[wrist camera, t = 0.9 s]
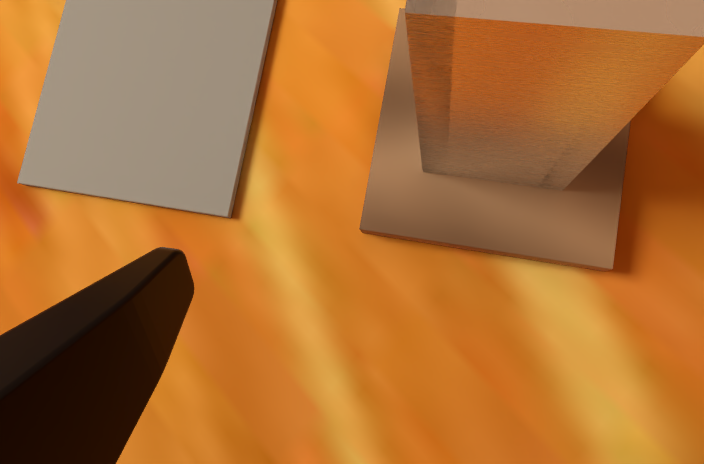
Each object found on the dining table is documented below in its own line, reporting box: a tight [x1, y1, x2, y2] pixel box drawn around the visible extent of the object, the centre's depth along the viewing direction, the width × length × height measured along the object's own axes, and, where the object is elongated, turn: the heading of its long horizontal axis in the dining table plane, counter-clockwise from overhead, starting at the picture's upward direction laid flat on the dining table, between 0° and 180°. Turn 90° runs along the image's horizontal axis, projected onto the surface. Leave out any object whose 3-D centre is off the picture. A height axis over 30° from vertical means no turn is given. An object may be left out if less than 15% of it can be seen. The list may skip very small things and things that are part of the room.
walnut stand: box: [359, 8, 631, 271], centre depth 21 cm, size 10×10×5 cm
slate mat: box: [17, 0, 277, 218], centre depth 26 cm, size 11×11×1 cm
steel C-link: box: [405, 0, 704, 191], centre depth 16 cm, size 4×6×12 cm
